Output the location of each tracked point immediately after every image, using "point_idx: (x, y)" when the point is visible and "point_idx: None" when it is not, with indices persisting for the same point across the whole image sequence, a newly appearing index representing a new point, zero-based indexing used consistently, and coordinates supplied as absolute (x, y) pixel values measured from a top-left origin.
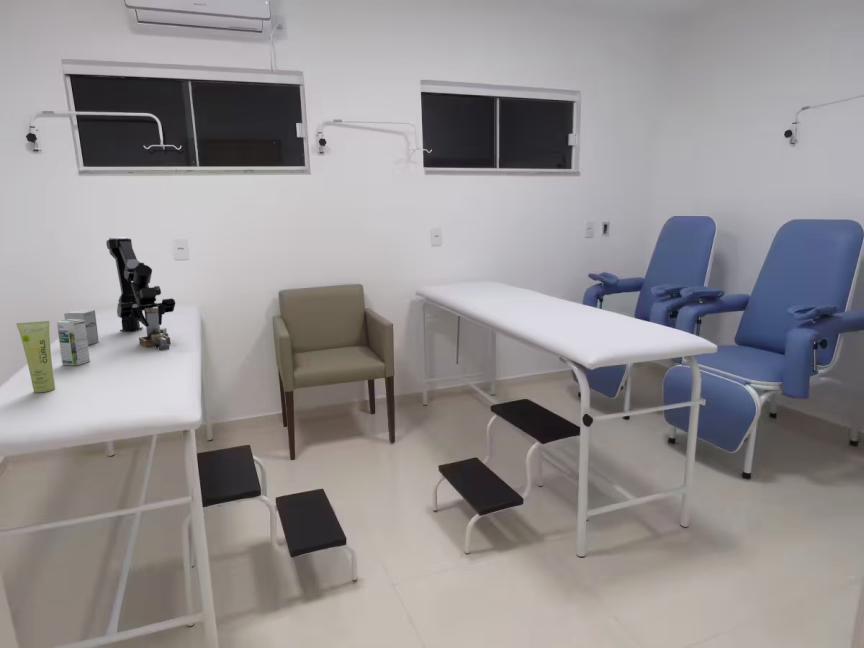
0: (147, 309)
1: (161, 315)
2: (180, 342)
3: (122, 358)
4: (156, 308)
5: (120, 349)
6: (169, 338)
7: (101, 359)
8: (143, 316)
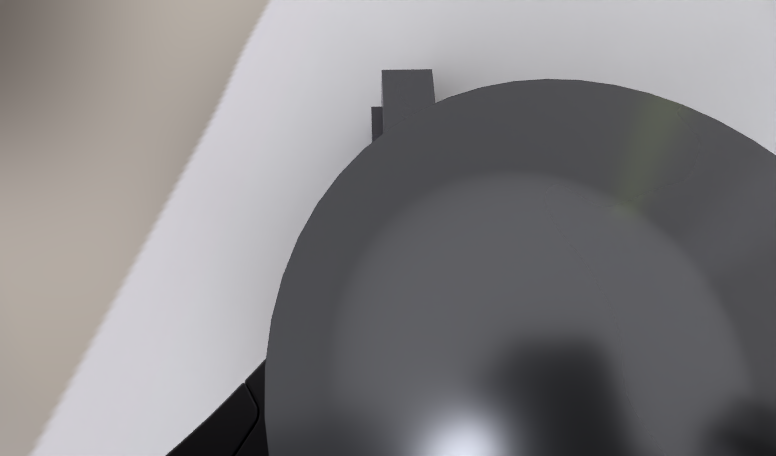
0: (734, 159)
1: (259, 376)
2: (234, 275)
3: (647, 66)
4: (395, 130)
5: None
6: None
7: (765, 115)
8: None
